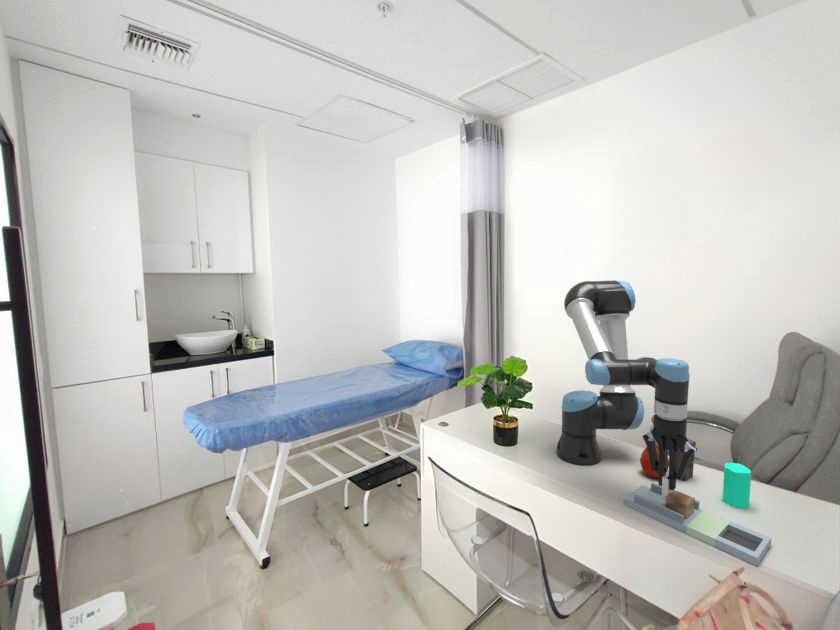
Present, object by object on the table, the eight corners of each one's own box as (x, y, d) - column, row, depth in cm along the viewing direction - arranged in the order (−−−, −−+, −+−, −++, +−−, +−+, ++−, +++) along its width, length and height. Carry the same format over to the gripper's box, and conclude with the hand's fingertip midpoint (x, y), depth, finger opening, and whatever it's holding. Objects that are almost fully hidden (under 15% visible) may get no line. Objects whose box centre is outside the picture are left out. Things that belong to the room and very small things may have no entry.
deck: (623, 504, 112) (623, 491, 111) (641, 491, 118) (642, 478, 118) (756, 566, 88) (758, 549, 87) (770, 545, 94) (772, 530, 93)
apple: (672, 483, 122) (674, 450, 121) (643, 479, 125) (644, 447, 123) (664, 470, 130) (666, 439, 129) (637, 467, 132) (638, 437, 131)
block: (665, 509, 105) (666, 496, 105) (673, 503, 108) (674, 489, 108) (686, 519, 101) (686, 504, 101) (694, 512, 104) (694, 498, 104)
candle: (724, 494, 116) (727, 455, 114) (750, 502, 111) (753, 462, 110) (720, 502, 112) (722, 462, 110) (746, 511, 107) (749, 470, 106)
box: (686, 482, 122) (687, 446, 121) (670, 476, 126) (672, 441, 125) (694, 476, 126) (696, 441, 124) (679, 470, 129) (680, 436, 128)
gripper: (638, 412, 108) (635, 492, 110) (691, 426, 97) (687, 515, 100) (651, 407, 112) (648, 484, 114) (703, 420, 102) (699, 504, 104)
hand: (666, 498), depth 107 cm, fingers closed
